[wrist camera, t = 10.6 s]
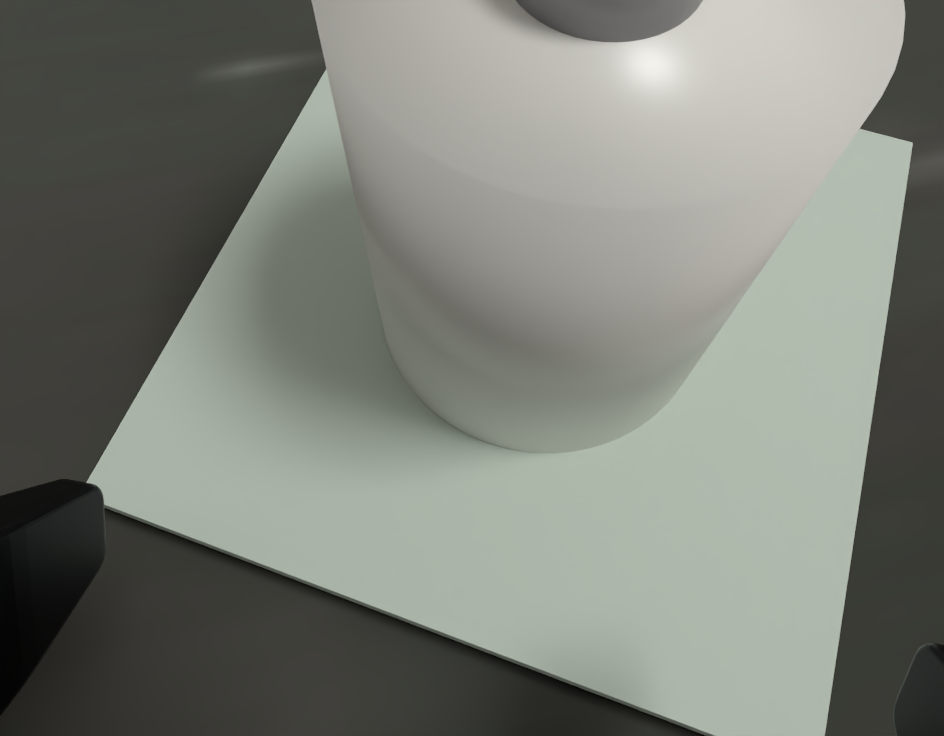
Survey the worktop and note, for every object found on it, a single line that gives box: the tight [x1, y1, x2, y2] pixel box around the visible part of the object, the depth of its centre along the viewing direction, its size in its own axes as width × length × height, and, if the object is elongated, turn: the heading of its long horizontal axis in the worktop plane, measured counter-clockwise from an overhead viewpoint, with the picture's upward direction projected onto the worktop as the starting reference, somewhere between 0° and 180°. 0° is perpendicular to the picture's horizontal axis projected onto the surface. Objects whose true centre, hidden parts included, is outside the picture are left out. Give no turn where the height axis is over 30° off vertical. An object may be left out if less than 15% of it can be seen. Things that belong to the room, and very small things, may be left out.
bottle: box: [312, 0, 905, 453], centre depth 12 cm, size 7×7×9 cm
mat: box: [86, 69, 913, 736], centre depth 16 cm, size 14×14×1 cm
